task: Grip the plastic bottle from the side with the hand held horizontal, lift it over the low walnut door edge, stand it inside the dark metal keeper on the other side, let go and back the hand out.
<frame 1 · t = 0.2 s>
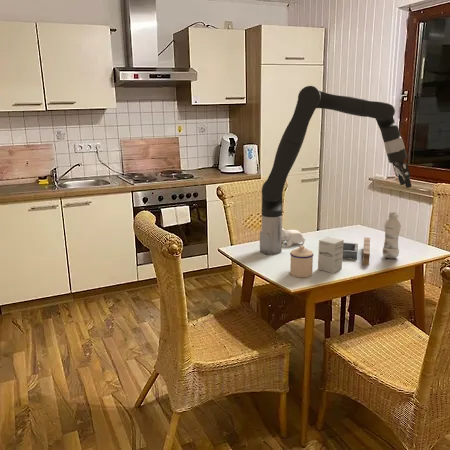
hand: (406, 185, 192), 31 cm above the table, tool tilted 20°, fingers open, 8 cm apart
white piece: (289, 244, 218), on the table
keeper: (342, 253, 202), on the table
door edge: (366, 255, 199), on the table
teacup with lid: (299, 273, 181), on the table
plastic bottle: (390, 258, 197), on the table
supplement box: (329, 269, 184), on the table
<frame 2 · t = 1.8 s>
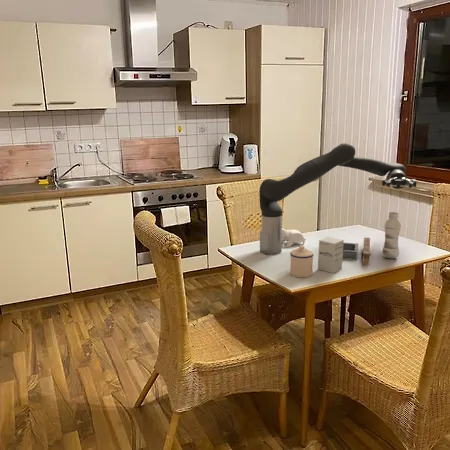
hand: (399, 185, 194), 31 cm above the table, tool horizontal, fingers open, 8 cm apart
nothing on the table moved.
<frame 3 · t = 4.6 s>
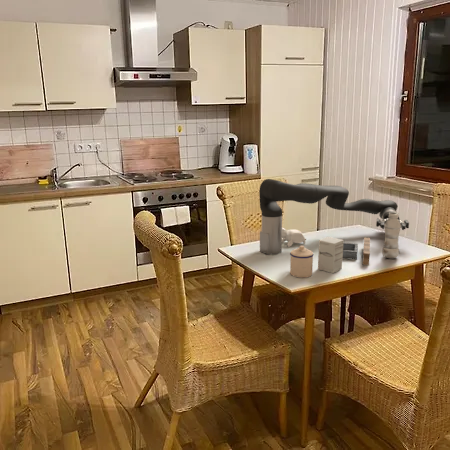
hand: (393, 227, 204), 11 cm above the table, tool horizontal, fingers open, 8 cm apart
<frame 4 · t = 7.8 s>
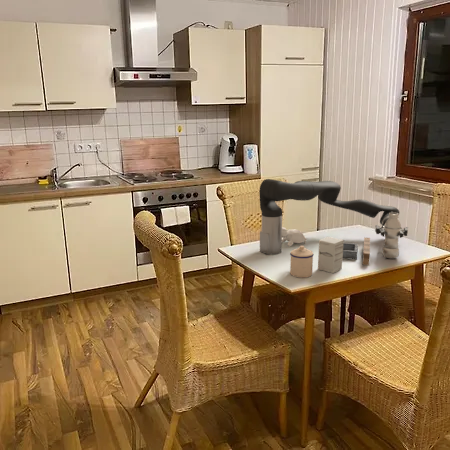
hand: (392, 234, 192), 11 cm above the table, tool horizontal, fingers closed on plastic bottle, 6 cm apart
plastic bottle: (390, 258, 197), on the table, touching gripper
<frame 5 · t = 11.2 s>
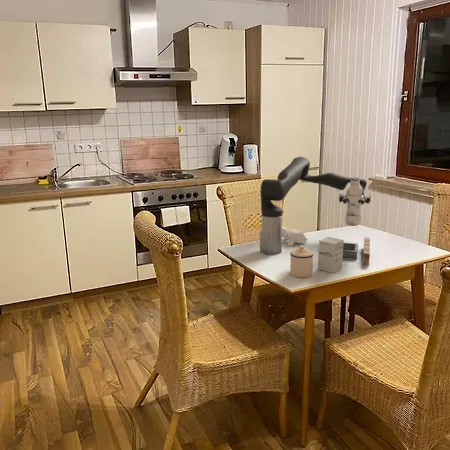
hand: (353, 202, 192), 25 cm above the table, tool horizontal, fingers closed on plastic bottle, 6 cm apart
plastic bottle: (352, 225, 197), point 13 cm above the table, touching gripper
when the fingers open (12 cm above the table, at t = 14.6 s): plastic bottle drops 1 cm, resting in keeper.
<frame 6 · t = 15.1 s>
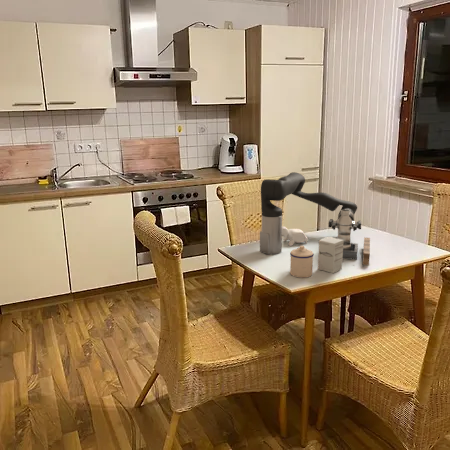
hand: (344, 228, 197), 13 cm above the table, tool horizontal, fingers open, 8 cm apart
plastic bottle: (343, 254, 203), resting in keeper
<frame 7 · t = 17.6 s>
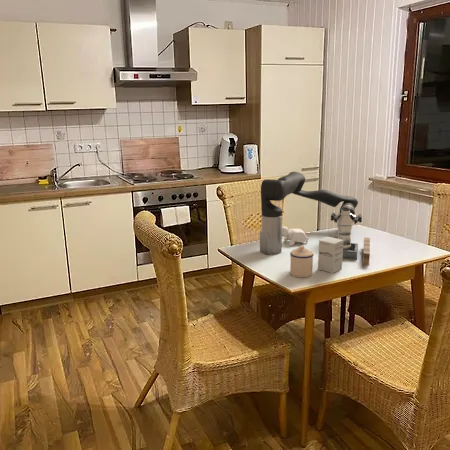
hand: (345, 221, 209), 12 cm above the table, tool horizontal, fingers open, 8 cm apart
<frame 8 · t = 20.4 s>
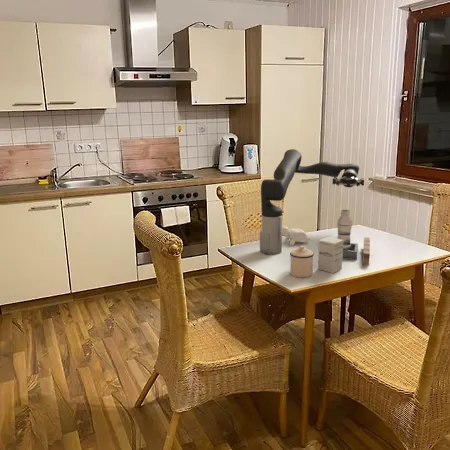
hand: (347, 183, 205), 30 cm above the table, tool horizontal, fingers open, 8 cm apart
at the end: plastic bottle inside the target area on the keeper (0.2 cm from its centre), point 0.0 cm above the keeper's base; plastic bottle tilted 0°; the gripper is holding nothing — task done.
